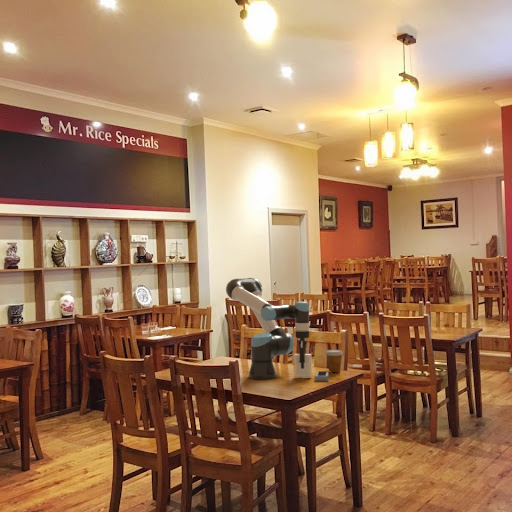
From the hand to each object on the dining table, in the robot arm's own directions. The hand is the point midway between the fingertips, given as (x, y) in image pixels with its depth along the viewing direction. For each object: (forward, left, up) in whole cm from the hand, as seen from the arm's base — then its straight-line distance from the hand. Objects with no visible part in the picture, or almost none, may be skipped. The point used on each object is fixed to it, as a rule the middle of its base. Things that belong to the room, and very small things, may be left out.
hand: (303, 373), depth 298 cm
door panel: (0, 0, -2) cm, 2 cm away
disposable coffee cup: (+16, +18, -3) cm, 24 cm away
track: (+10, 0, -2) cm, 11 cm away
